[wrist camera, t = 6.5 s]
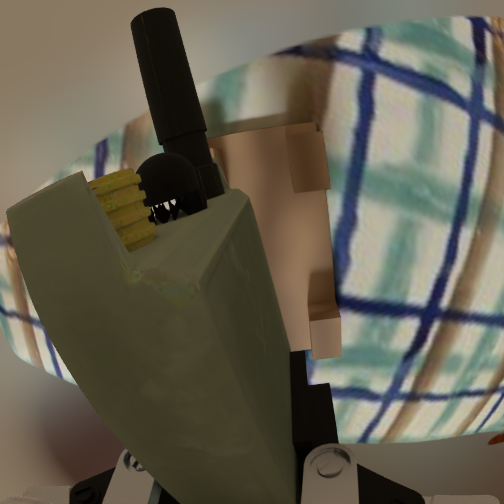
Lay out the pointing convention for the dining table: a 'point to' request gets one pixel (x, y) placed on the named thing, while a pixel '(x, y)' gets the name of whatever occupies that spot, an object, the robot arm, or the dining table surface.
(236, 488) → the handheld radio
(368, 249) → the dining table surface
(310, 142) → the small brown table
